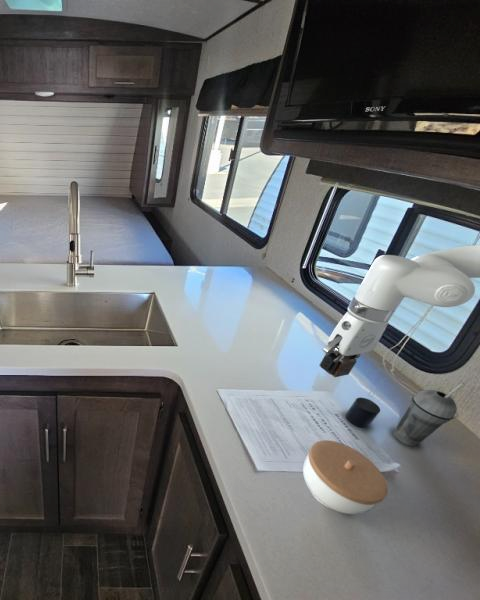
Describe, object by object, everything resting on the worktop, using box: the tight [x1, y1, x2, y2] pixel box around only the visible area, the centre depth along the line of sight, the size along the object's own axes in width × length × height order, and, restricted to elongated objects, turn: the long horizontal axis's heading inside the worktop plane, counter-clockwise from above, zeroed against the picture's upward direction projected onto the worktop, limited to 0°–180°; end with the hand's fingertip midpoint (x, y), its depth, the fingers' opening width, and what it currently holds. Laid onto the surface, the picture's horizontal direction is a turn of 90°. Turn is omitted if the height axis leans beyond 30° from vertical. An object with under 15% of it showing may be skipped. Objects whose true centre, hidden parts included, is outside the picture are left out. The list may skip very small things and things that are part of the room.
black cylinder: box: [345, 396, 381, 429], centre depth 83 cm, size 5×5×6 cm
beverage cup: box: [393, 382, 466, 447], centre depth 76 cm, size 7×7×20 cm
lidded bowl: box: [302, 439, 389, 515], centre depth 65 cm, size 13×13×11 cm
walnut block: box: [319, 350, 358, 378], centre depth 81 cm, size 4×4×4 cm
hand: (334, 368), depth 82 cm, fingers closed on walnut block, 4 cm apart
